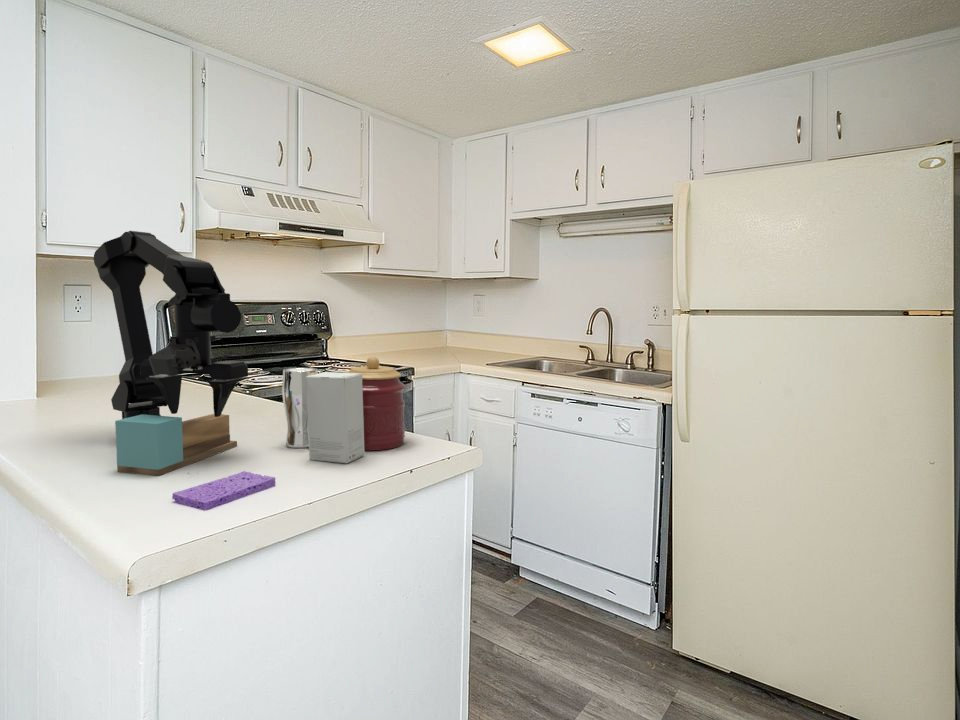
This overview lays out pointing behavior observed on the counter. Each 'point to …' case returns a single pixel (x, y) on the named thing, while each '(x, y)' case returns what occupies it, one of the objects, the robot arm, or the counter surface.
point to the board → (189, 455)
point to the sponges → (223, 490)
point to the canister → (381, 406)
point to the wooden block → (204, 429)
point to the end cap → (149, 441)
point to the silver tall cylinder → (296, 405)
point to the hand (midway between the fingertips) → (195, 415)
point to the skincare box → (335, 416)
